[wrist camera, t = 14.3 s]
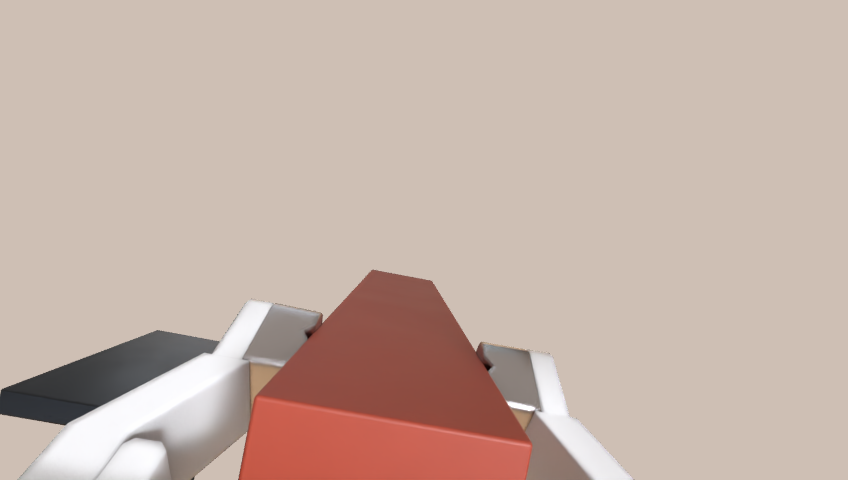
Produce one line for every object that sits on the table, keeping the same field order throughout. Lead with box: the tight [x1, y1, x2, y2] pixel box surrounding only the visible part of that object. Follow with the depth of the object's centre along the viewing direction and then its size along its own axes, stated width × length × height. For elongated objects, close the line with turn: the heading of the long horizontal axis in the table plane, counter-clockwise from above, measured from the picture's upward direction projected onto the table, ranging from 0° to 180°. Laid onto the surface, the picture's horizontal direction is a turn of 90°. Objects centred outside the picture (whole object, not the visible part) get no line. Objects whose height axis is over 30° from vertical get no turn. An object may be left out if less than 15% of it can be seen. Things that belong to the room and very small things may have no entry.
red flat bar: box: [238, 270, 532, 480], centre depth 15 cm, size 3×19×1 cm, turn 3°
